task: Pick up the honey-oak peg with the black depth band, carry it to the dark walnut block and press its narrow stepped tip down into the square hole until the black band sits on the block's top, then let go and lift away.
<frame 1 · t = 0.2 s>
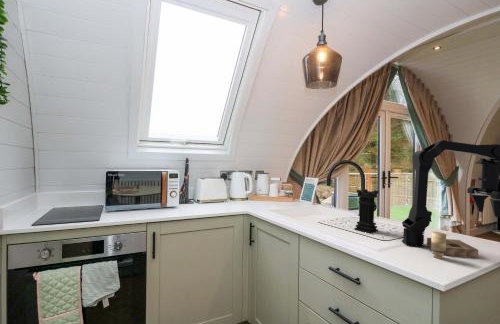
hand: (488, 214, 107), 14 cm above the worktop, tool pointing down, fingers open, 9 cm apart
chess piece: (366, 230, 133), on the worktop
walnut block: (450, 250, 106), on the worktop
oak peg: (437, 257, 98), on the worktop
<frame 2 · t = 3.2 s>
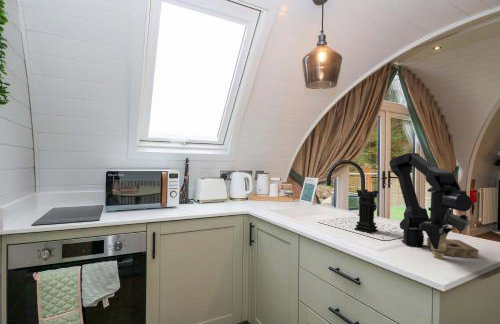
hand: (438, 247, 98), 4 cm above the worktop, tool pointing down, fingers closed on oak peg, 4 cm apart
oak peg: (437, 257, 98), on the worktop, touching gripper
everything else where it was.
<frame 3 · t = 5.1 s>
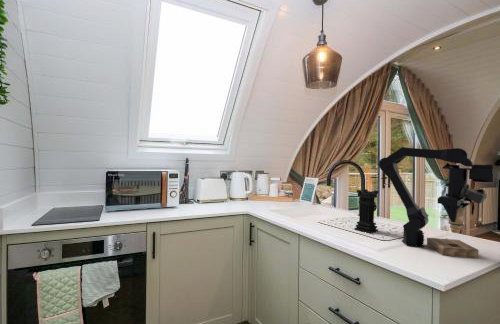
hand: (455, 221, 103), 12 cm above the worktop, tool pointing down, fingers closed on oak peg, 4 cm apart
oak peg: (455, 230, 103), point 9 cm above the worktop, touching gripper
everything else where it was.
when the fingers open (4 cm above the worktop, at t = 7.2 s): oak peg stays where it is, resting on walnut block.
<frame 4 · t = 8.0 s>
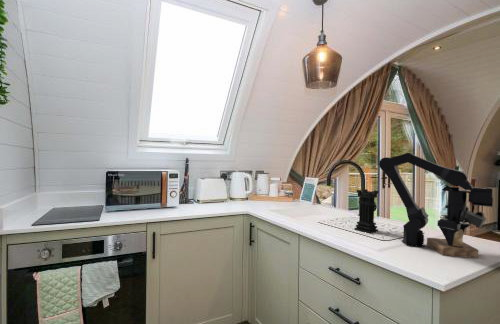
hand: (454, 243, 103), 4 cm above the worktop, tool pointing down, fingers open, 9 cm apart
oak peg: (454, 252, 103), resting on walnut block
everything else where it was.
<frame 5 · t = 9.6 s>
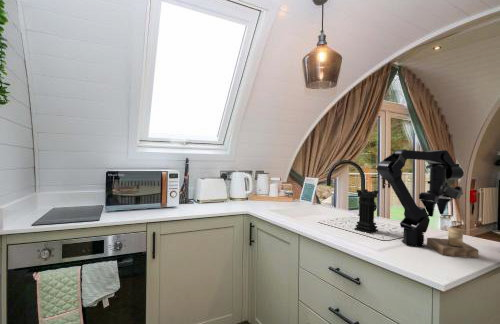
hand: (436, 215, 115), 12 cm above the worktop, tool pointing down, fingers open, 9 cm apart
nothing on the worktop moved.
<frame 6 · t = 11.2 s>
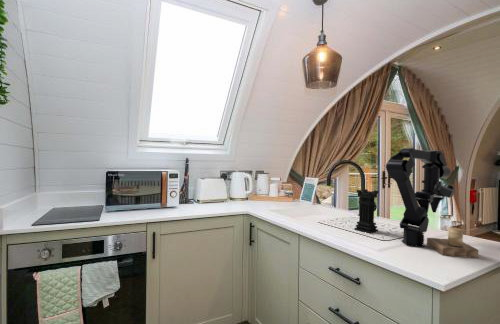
hand: (430, 213, 119), 12 cm above the worktop, tool pointing down, fingers open, 9 cm apart
nothing on the worktop moved.
at the end: oak peg 0.0 cm from the target spot, resting in walnut block; oak peg tilted 0°; the gripper is holding nothing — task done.
